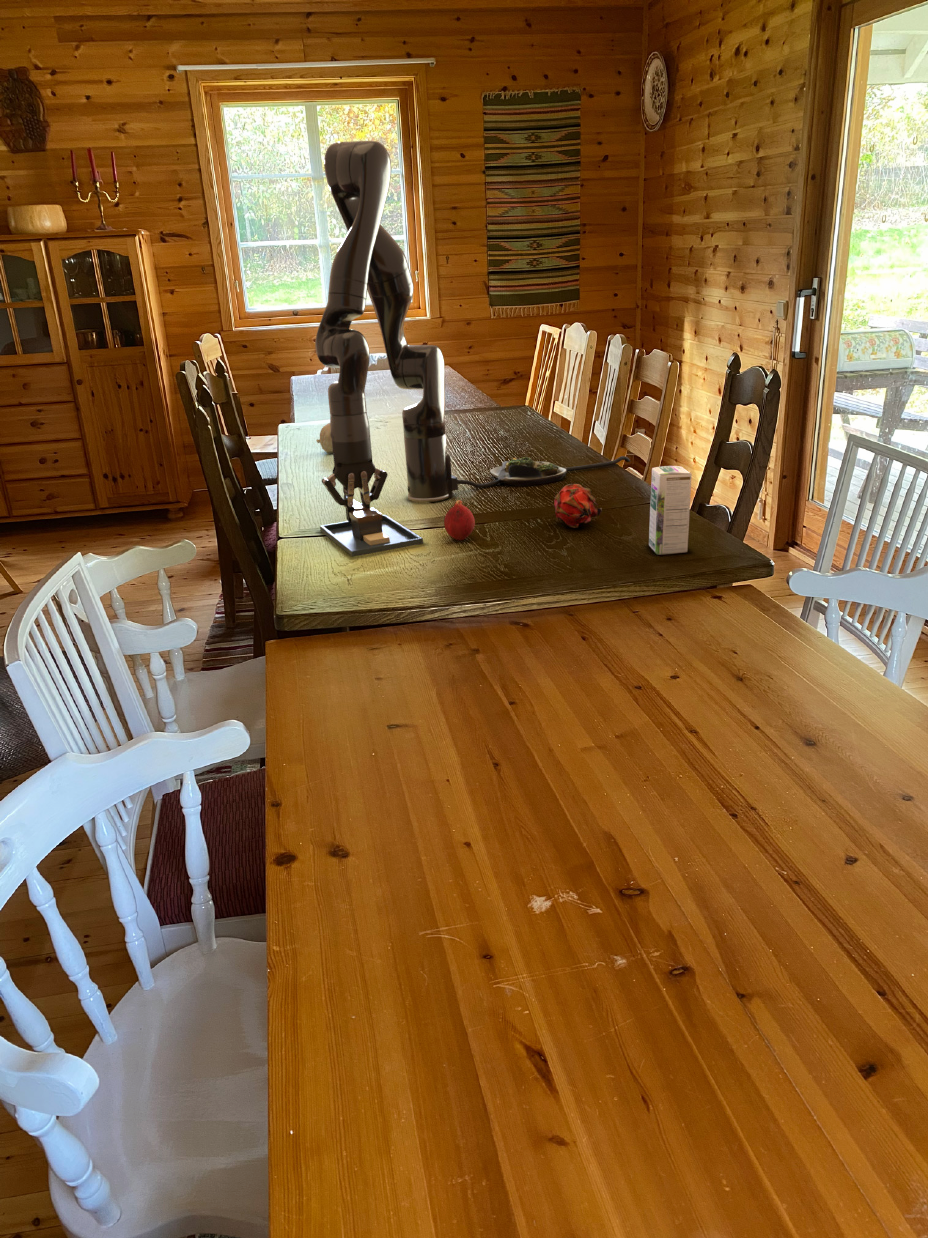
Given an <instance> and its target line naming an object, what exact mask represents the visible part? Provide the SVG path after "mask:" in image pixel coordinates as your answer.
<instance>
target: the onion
mask: <svg viewBox="0 0 928 1238" xmlns="http://www.w3.org/2000/svg"><path fill="white" fill-rule="evenodd" d="M475 521H476V519H475V517H474V515H473V512H472V511H471V510H470V509H469V508H468V507H467V506H465V505H463V501H462V500H460V499H458V500H456V501H455V503H454V505H453V506H452V507H451V508H449V509H448V511H447V512H446V514H445V516H444V522H443V524H444V529H445V531H446V533H447V534H448V535H449V537H451V538H452V539H454V540H455V541H457V542H459V541H460V542H461V541H464V540H465V539H467V538H468V537H469V536H470V535H471V534H472V532H473V531H474V529H475V526H476V522H475Z"/></svg>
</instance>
